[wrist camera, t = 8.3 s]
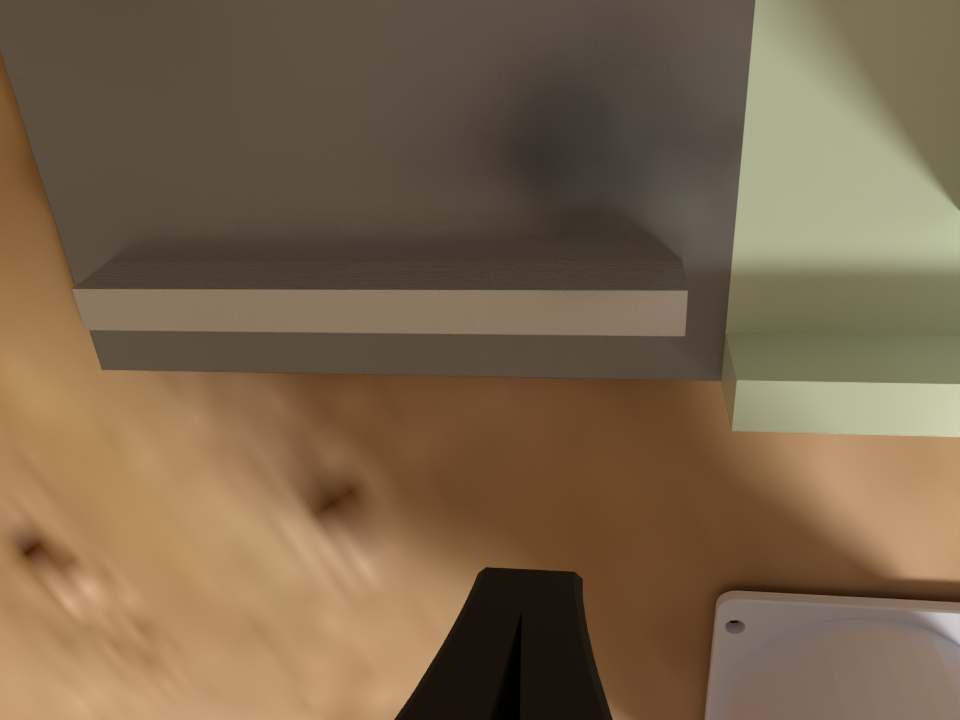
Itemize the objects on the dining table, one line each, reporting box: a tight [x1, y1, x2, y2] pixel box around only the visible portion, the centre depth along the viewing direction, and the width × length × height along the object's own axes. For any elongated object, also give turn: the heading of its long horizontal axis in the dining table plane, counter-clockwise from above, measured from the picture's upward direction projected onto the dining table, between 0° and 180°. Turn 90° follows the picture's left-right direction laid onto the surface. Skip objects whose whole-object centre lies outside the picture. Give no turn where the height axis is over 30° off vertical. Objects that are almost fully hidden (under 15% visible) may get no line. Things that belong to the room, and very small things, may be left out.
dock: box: [0, 0, 755, 381], centre depth 17 cm, size 12×15×2 cm
